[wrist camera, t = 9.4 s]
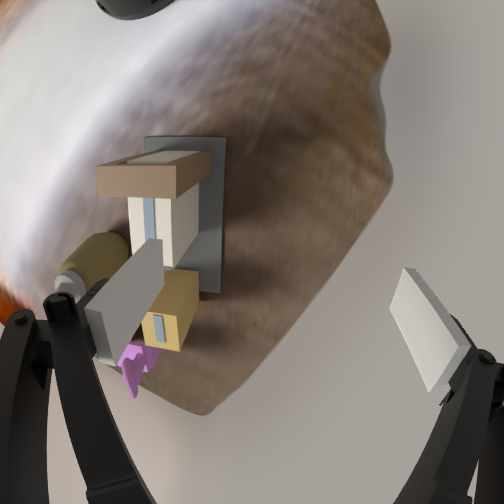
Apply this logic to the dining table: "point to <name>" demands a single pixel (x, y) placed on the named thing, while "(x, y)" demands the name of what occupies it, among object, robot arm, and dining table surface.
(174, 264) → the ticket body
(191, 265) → the mat
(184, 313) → the stub
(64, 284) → the squeeze bottle
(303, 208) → the dining table surface
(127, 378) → the pink scoop
